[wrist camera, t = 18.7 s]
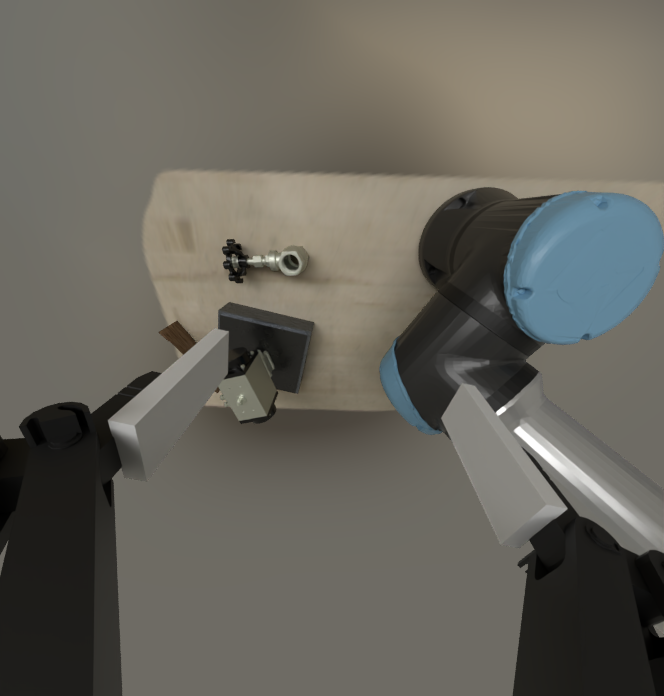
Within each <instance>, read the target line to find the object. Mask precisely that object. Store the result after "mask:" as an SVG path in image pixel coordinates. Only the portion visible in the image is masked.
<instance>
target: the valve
mask: <svg viewBox="0 0 664 696" xmlns="http://www.w3.org/2000/svg"><path fill="white" fill-rule="evenodd" d="M233 243H236V242H235V240H234V239H227V246H224V247H223V248H222V251H223V254H225V255H226V261H224V262H223V266H224V268H225V269H229V271H230V274H229V280H230V281H235V282H236V283H243V278H242V279H240V276H245V275H246V268H250V265H254V266H255V267H264V266H265V265H267V267H270V269H271V270H272V271H278V270H279V269H281V271H282V272H283V273H284V274H285V275H287V276H291V275H299V273H301V272H303V271H304V270H305V268H306V267H307V264H308V258H309V256H308V254H307V253H306V251H305V249H304V248H303V246H288V247H287V248H285V249H284V250H283V252H281V253H278V252H277V251H276V250H275V251H269V254H268V255H266V257H263V255H255V256H253V258H249V256H248V255H243V253H242V252H241V251H240V250H242V248H241V244H233ZM232 254H235V255H236V256H234V257H232ZM290 255H293V256H295V257H296V258H297V259H298V262H299V265H296V264H294V263H293V262H292V261H291V258H290ZM233 267H234V268H238V269H237V272H236V271H235V270H234V268H233Z"/></svg>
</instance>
